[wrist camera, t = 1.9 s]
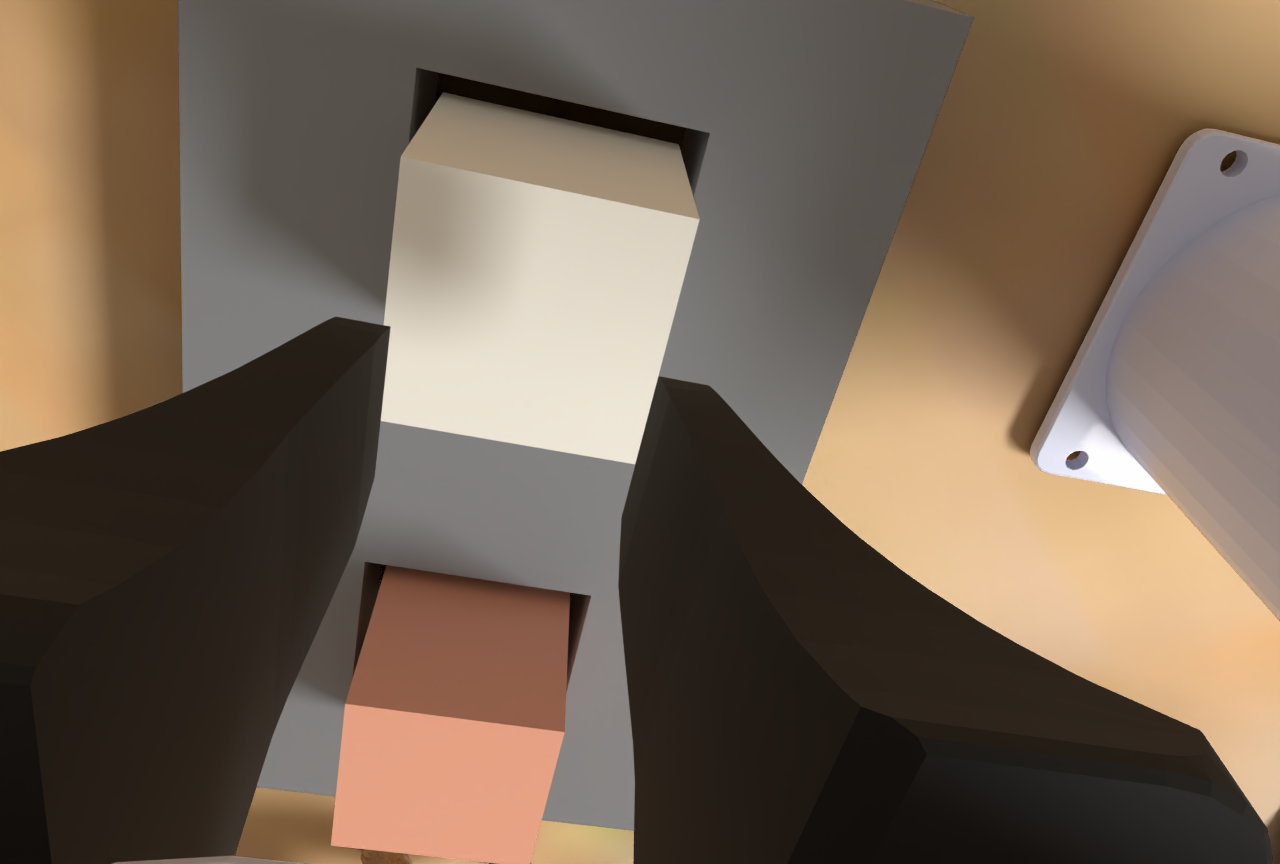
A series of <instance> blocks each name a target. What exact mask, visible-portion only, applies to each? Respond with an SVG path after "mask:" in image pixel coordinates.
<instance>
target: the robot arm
mask: <svg viewBox="0 0 1280 864" xmlns="http://www.w3.org/2000/svg"><path fill="white" fill-rule="evenodd" d="M1233 151H1236V153H1237V155H1236V159H1235V162H1234V163H1233V164H1232V165H1231V167H1230V168H1228V169H1226V170H1224V171H1221V170H1220V166H1221V162H1222V160H1223V159H1224V158H1225V157H1226V155H1227V154H1229V153H1231V152H1233ZM390 328H391V327H390V326H385V325H379V324H374V323H368V322H363V321H358V320H352V319H347V318H341V317H333V318H331V319H329V320H327V321H325V322H323V323H321V324H319V325H317V326H315V327H313V328H311V329H310V330H308V331H306V332H304V333H302V334H301V335H299V336H297V337H295V338H293V339H291V340H290V341H288V342H286V343H284V344H282V345H281V346H279V347H277V348H275V349H273V350H271V351H269V352H267V353H265V354H264V355H262V356H260V357H258V358H256V359H254V360H252V361H250V362H248V363H246V364H245V365H243V366H241V367H239V368H237V369H235V370H233V371H231V372H229V373H226V374H224V375H222V376H220V377H218V378H215V379H213V380H211V381H209V382H206V383H204V384H202V385H200V386H198V387H195V388H193V389H191V390H189V391H187V392H184V393H182V394H180V395H178V396H176V397H173V398H171V399H169V400H167V401H164V402H162V403H159V404H157V405H154V406H152V407H149V408H147V409H144V410H141V411H138V412H136V413H133V414H130V415H128V416H125V417H122V418H119V419H116V420H113V421H110V422H107V423H104V424H101V425H98V426H94V427H91V428H88V429H85V430H82V431H79V432H76V433H72V434H69V435H66V436H62V437H59V438H55V439H51V440H47V441H43V442H38V443H34V444H30V445H26V446H22V447H18V448H14V449H10V450H6V451H2V452H0V864H307V863H298V862H288V861H279V860H269V859H260V858H250V857H241V856H235V853H236V850H237V847H238V844H239V840H240V837H241V834H242V831H243V827H244V824H245V821H246V818H247V815H248V811H249V808H250V805H251V802H252V799H253V796H254V793H255V790H256V786H257V783H258V780H259V777H260V774H261V771H262V768H263V765H264V762H265V758H266V755H267V752H268V749H269V746H270V743H271V740H272V737H273V734H274V731H275V729H276V726H277V724H278V721H279V719H280V716H281V713H282V711H283V708H284V706H285V703H286V701H287V698H288V696H289V694H290V691H291V689H292V687H293V685H294V682H295V680H296V678H297V676H298V674H299V671H300V669H301V667H302V665H303V662H304V660H305V658H306V656H307V653H308V651H309V649H310V647H311V644H312V642H313V640H314V638H315V636H316V633H317V631H318V629H319V627H320V624H321V622H322V620H323V618H324V615H325V613H326V611H327V609H328V606H329V604H330V602H331V600H332V597H333V595H334V593H335V591H336V588H337V586H338V584H339V582H340V579H341V577H342V575H343V572H344V570H345V568H346V566H347V563H348V561H349V559H350V556H351V554H352V552H353V549H354V547H355V544H356V541H357V537H358V534H359V531H360V527H361V524H362V520H363V517H364V514H365V510H366V506H367V503H368V499H369V496H370V492H371V489H372V485H373V482H374V478H375V470H376V460H377V451H378V441H379V432H380V422H381V413H382V403H383V394H384V385H385V375H386V366H387V356H388V347H389V337H390ZM1075 451H1081V452H1080V454H1079V455H1078V456H1077V458H1075V459H1073V460H1070V461H1066V458H1067V457H1068V456H1069V455H1070V454H1071V453H1073V452H1075ZM1030 457H1031V460H1032V461H1033V462H1034V464H1035V465H1036V466H1037V467H1038V469H1039V470H1040V471H1042V472H1045V473H1048V474H1053V475H1059V476H1064V477H1070V478H1075V479H1081V480H1087V481H1092V482H1098V483H1103V484H1109V485H1114V486H1120V487H1125V488H1131V489H1136V490H1142V491H1147V492H1153V493H1159V494H1164V495H1168V496H1169V498H1170V499H1171V500H1172V501H1173V502H1174V503H1175V504H1176V505H1177V507H1178V508H1179V509H1180V510H1181V511H1182V512H1183V513H1184V514H1185V516H1186V517H1187V518H1188V519H1189V520H1190V521H1191V522H1192V523H1193V525H1194V526H1195V527H1196V528H1197V529H1198V530H1199V531H1200V532H1201V533H1202V535H1203V536H1204V537H1205V538H1206V539H1207V540H1208V541H1209V542H1210V544H1211V545H1212V546H1213V547H1214V548H1215V549H1216V550H1217V551H1218V553H1219V554H1220V555H1221V556H1222V557H1223V558H1224V559H1225V560H1226V561H1227V563H1228V564H1229V565H1230V566H1231V567H1232V568H1233V569H1234V570H1235V572H1236V573H1237V574H1238V575H1239V576H1240V577H1241V578H1242V579H1243V581H1244V582H1245V583H1246V584H1247V585H1248V586H1249V587H1250V588H1251V590H1252V591H1253V592H1254V593H1255V594H1256V595H1257V596H1258V597H1259V598H1260V600H1261V601H1262V602H1263V603H1264V604H1265V605H1266V606H1267V607H1268V609H1269V610H1270V611H1271V612H1272V613H1273V614H1274V615H1275V616H1276V618H1277V619H1278V620H1279V621H1280V144H1276V143H1272V142H1268V141H1263V140H1259V139H1255V138H1251V137H1247V136H1243V135H1239V134H1235V133H1231V132H1226V131H1222V130H1218V129H1206V128H1205V129H1202V130H1199V131H1197V132H1194V133H1193V134H1192V135H1191V136H1189V137H1188V138H1187V139H1186V140H1185V141H1184V142H1183V144H1182V145H1181V147H1180V148H1179V150H1178V152H1177V154H1176V156H1175V158H1174V160H1173V162H1172V164H1171V166H1170V168H1169V170H1168V172H1167V174H1166V176H1165V178H1164V180H1163V182H1162V184H1161V186H1160V188H1159V190H1158V192H1157V194H1156V196H1155V198H1154V200H1153V202H1152V204H1151V206H1150V208H1149V210H1148V212H1147V214H1146V216H1145V218H1144V220H1143V222H1142V224H1141V226H1140V228H1139V230H1138V232H1137V234H1136V236H1135V238H1134V240H1133V242H1132V244H1131V246H1130V248H1129V250H1128V252H1127V254H1126V256H1125V258H1124V260H1123V262H1122V264H1121V266H1120V268H1119V270H1118V272H1117V274H1116V276H1115V278H1114V280H1113V282H1112V284H1111V287H1110V289H1109V291H1108V293H1107V295H1106V297H1105V299H1104V301H1103V303H1102V305H1101V307H1100V309H1099V311H1098V313H1097V315H1096V317H1095V319H1094V321H1093V323H1092V325H1091V327H1090V329H1089V331H1088V333H1087V335H1086V337H1085V339H1084V341H1083V343H1082V345H1081V347H1080V349H1079V351H1078V353H1077V355H1076V357H1075V359H1074V361H1073V363H1072V365H1071V367H1070V369H1069V371H1068V373H1067V375H1066V377H1065V379H1064V381H1063V383H1062V385H1061V387H1060V389H1059V391H1058V393H1057V395H1056V397H1055V399H1054V401H1053V403H1052V405H1051V407H1050V409H1049V411H1048V413H1047V415H1046V417H1045V419H1044V421H1043V423H1042V425H1041V427H1040V429H1039V431H1038V433H1037V435H1036V437H1035V439H1034V441H1033V443H1032V445H1031V449H1030ZM618 588H619V601H620V612H621V623H622V634H623V645H624V655H625V666H626V676H627V686H628V697H629V707H630V717H631V728H632V738H633V753H634V774H635V804H634V864H1271V863H1272V859H1273V857H1272V852H1271V846H1270V841H1269V836H1268V831H1267V827H1266V826H1265V824H1264V823H1263V822H1262V820H1261V819H1260V817H1259V816H1258V814H1257V813H1256V811H1255V810H1254V808H1253V807H1252V805H1251V804H1250V802H1249V801H1248V799H1247V798H1246V796H1245V795H1244V793H1243V792H1242V791H1241V789H1240V788H1239V786H1238V785H1237V783H1236V782H1235V780H1234V779H1233V777H1232V776H1231V774H1230V773H1229V771H1228V770H1227V768H1226V767H1225V765H1224V764H1223V762H1222V761H1221V760H1220V758H1219V757H1218V755H1217V754H1216V752H1215V751H1214V749H1213V748H1212V746H1211V745H1210V743H1209V742H1208V740H1207V739H1206V737H1205V736H1204V734H1203V733H1202V732H1201V731H1200V730H1198V729H1196V728H1194V727H1191V726H1189V725H1187V724H1185V723H1182V722H1180V721H1178V720H1175V719H1173V718H1171V717H1169V716H1166V715H1164V714H1162V713H1160V712H1157V711H1155V710H1153V709H1151V708H1148V707H1146V706H1144V705H1142V704H1139V703H1137V702H1135V701H1133V700H1130V699H1128V698H1126V697H1124V696H1121V695H1119V694H1117V693H1115V692H1112V691H1110V690H1108V689H1106V688H1103V687H1101V686H1099V685H1097V684H1094V683H1092V682H1090V681H1088V680H1086V679H1084V678H1082V677H1080V676H1078V675H1076V674H1074V673H1072V672H1070V671H1068V670H1066V669H1064V668H1062V667H1060V666H1058V665H1057V664H1055V663H1053V662H1051V661H1049V660H1047V659H1045V658H1043V657H1041V656H1039V655H1038V654H1036V653H1034V652H1032V651H1030V650H1028V649H1026V648H1024V647H1022V646H1020V645H1019V644H1017V643H1015V642H1013V641H1012V640H1010V639H1008V638H1006V637H1005V636H1003V635H1001V634H999V633H998V632H996V631H994V630H992V629H991V628H989V627H987V626H986V625H984V624H982V623H980V622H979V621H977V620H976V619H974V618H972V617H971V616H969V615H968V614H966V613H965V612H963V611H962V610H960V609H958V608H957V607H955V606H954V605H952V604H951V603H949V602H947V601H946V600H944V599H943V598H941V597H940V596H938V595H937V594H935V593H933V592H932V591H930V590H929V589H927V588H926V587H925V586H923V585H922V584H920V583H919V582H917V581H916V580H915V579H913V578H912V577H910V576H909V575H907V574H906V573H905V572H903V571H902V570H901V569H899V568H898V567H897V566H895V565H894V564H893V563H892V562H890V561H889V560H888V559H886V558H885V557H884V556H883V555H881V554H880V553H879V552H877V551H876V550H875V549H874V548H872V547H871V546H870V545H868V544H867V543H866V542H865V541H863V540H862V539H861V538H859V537H858V536H857V535H856V534H855V533H854V532H852V531H851V530H850V529H849V528H848V527H847V526H845V525H844V524H843V523H842V522H841V521H840V520H839V519H837V518H836V517H835V516H834V515H833V514H832V513H831V512H830V511H829V510H828V509H827V508H826V507H825V506H824V505H823V504H821V503H820V502H819V501H818V500H817V499H816V498H815V497H814V496H813V495H812V494H811V493H810V492H809V491H808V490H807V489H806V488H805V487H804V486H803V485H802V484H801V483H800V482H799V481H798V480H797V479H796V478H795V477H794V476H793V475H792V474H791V473H790V472H789V471H788V470H787V469H786V468H785V467H784V466H783V465H782V464H781V463H780V462H779V461H778V460H777V458H776V457H775V456H774V455H773V454H772V453H771V452H770V451H769V450H768V449H767V448H766V447H765V445H764V444H763V443H762V442H761V441H760V440H759V439H758V438H757V437H756V435H755V434H754V433H753V432H752V431H751V430H750V429H749V428H748V426H747V425H746V424H745V423H744V422H743V421H742V420H741V419H740V417H739V416H738V415H737V414H736V413H735V412H734V411H733V409H732V408H731V407H730V406H729V405H728V404H727V403H726V402H725V401H724V400H723V398H722V397H721V396H720V395H719V394H718V393H717V392H716V391H715V390H714V389H713V388H711V387H710V386H709V385H704V384H699V383H693V382H688V381H682V380H677V379H672V378H666V377H661V376H658V380H657V384H656V388H655V392H654V395H653V399H652V403H651V407H650V411H649V414H648V418H647V422H646V426H645V430H644V433H643V437H642V441H641V445H640V449H639V453H638V456H637V460H636V464H635V468H634V472H633V475H632V479H631V483H630V487H629V491H628V494H627V498H626V502H625V506H624V510H623V513H622V517H621V536H620V555H619V581H618Z"/></svg>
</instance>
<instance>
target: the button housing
mask: <svg viewBox="0 0 1280 864" xmlns="http://www.w3.org/2000/svg"><path fill="white" fill-rule="evenodd" d="M972 21H973V17H971V16H969V15H966V14H964V13H962V12H959V11H957V10H954V9H952V8H950V7H947V6H945V5H943V4H940V3H938V2H936V1H933V0H178V36H179V122H180V209H181V296H182V383H183V393H184V392H187V391H189V390H191V389H193V388H195V387H198V386H200V385H202V384H204V383H206V382H209V381H211V380H213V379H215V378H218V377H220V376H222V375H224V374H226V373H229V372H231V371H233V370H235V369H237V368H239V367H241V366H243V365H245V364H246V363H248V362H250V361H252V360H254V359H256V358H258V357H260V356H262V355H264V354H265V353H267V352H269V351H271V350H273V349H275V348H277V347H279V346H281V345H282V344H284V343H286V342H288V341H290V340H291V339H293V338H295V337H297V336H299V335H301V334H302V333H304V332H306V331H308V330H310V329H311V328H313V327H315V326H317V325H319V324H321V323H323V322H325V321H327V320H329V319H331V318H333V317H341V318H347V319H352V320H358V321H363V322H368V323H374V324H379V325H384V316H385V306H386V296H387V286H388V276H389V266H390V257H391V247H392V237H393V227H394V217H395V207H396V197H397V188H398V178H399V168H400V158H401V155H402V154H403V152H404V151H405V149H406V148H407V146H408V145H409V143H410V142H411V140H412V139H413V137H414V136H415V134H416V133H417V131H418V130H419V128H420V127H421V125H422V124H423V122H424V121H425V119H426V118H427V116H428V115H429V113H430V111H431V110H432V108H433V107H434V105H435V99H436V90H437V82H438V73H443V74H447V75H452V76H456V77H461V78H465V79H470V80H474V81H479V82H483V83H488V84H492V85H497V86H501V87H506V88H510V89H515V90H519V91H524V92H528V93H533V94H537V95H542V96H546V97H550V98H555V99H559V100H564V101H568V102H573V103H577V104H582V105H586V106H591V107H595V108H600V109H604V110H609V111H613V112H618V113H622V114H627V115H631V116H636V117H640V118H645V119H649V120H654V121H658V122H663V123H667V124H671V125H676V126H680V127H685V128H686V132H685V136H684V140H683V144H682V149H681V155H682V158H683V162H684V165H685V169H686V172H687V176H688V180H689V183H690V187H691V190H692V194H693V197H694V201H695V205H696V208H697V212H698V215H699V219H700V220H699V224H698V227H697V231H696V235H695V239H694V243H693V246H692V250H691V254H690V258H689V262H688V265H687V269H686V273H685V277H684V281H683V284H682V288H681V292H680V296H679V300H678V303H677V307H676V311H675V315H674V319H673V322H672V326H671V330H670V334H669V338H668V341H667V345H666V349H665V353H664V357H663V360H662V364H661V368H660V372H659V376H661V377H666V378H672V379H677V380H682V381H688V382H693V383H699V384H704V385H709V386H710V387H711V388H713V389H714V390H715V391H716V392H717V393H718V394H719V395H720V396H721V397H722V398H723V400H724V401H725V402H726V403H727V404H728V405H729V406H730V407H731V408H732V409H733V411H734V412H735V413H736V414H737V415H738V416H739V417H740V419H741V420H742V421H743V422H744V423H745V424H746V425H747V426H748V428H749V429H750V430H751V431H752V432H753V433H754V434H755V435H756V437H757V438H758V439H759V440H760V441H761V442H762V443H763V444H764V445H765V447H766V448H767V449H768V450H769V451H770V452H771V453H772V454H773V455H774V456H775V457H776V458H777V460H778V461H779V462H780V463H781V464H782V465H783V466H784V467H785V468H786V469H787V470H788V471H789V472H790V473H791V474H792V475H793V476H794V477H795V478H796V479H797V480H798V481H799V482H800V483H801V484H802V482H803V480H804V477H805V474H806V472H807V469H808V466H809V463H810V461H811V458H812V455H813V453H814V450H815V447H816V444H817V442H818V439H819V436H820V434H821V431H822V428H823V425H824V423H825V420H826V417H827V415H828V412H829V409H830V406H831V404H832V401H833V398H834V396H835V393H836V390H837V387H838V385H839V382H840V379H841V377H842V374H843V371H844V368H845V366H846V363H847V360H848V358H849V355H850V352H851V349H852V347H853V344H854V341H855V339H856V336H857V333H858V330H859V328H860V325H861V322H862V320H863V317H864V314H865V311H866V309H867V306H868V303H869V301H870V298H871V295H872V292H873V290H874V287H875V284H876V282H877V279H878V276H879V273H880V271H881V268H882V265H883V263H884V260H885V257H886V254H887V252H888V249H889V246H890V244H891V241H892V238H893V235H894V233H895V230H896V227H897V225H898V222H899V219H900V216H901V214H902V211H903V208H904V206H905V203H906V200H907V197H908V195H909V192H910V189H911V187H912V184H913V181H914V179H915V176H916V173H917V170H918V168H919V165H920V162H921V160H922V157H923V154H924V151H925V149H926V146H927V143H928V141H929V138H930V135H931V132H932V130H933V127H934V124H935V122H936V119H937V116H938V113H939V111H940V108H941V105H942V103H943V100H944V97H945V94H946V92H947V89H948V86H949V84H950V81H951V78H952V75H953V73H954V70H955V67H956V65H957V62H958V59H959V56H960V54H961V51H962V48H963V46H964V43H965V40H966V37H967V35H968V32H969V29H970V27H971V24H972ZM657 380H658V379H657ZM656 384H657V383H656ZM655 388H656V387H655ZM654 392H655V391H654ZM651 403H652V402H651ZM650 407H651V406H650ZM649 411H650V410H649ZM646 422H647V421H646ZM645 426H646V425H645ZM644 430H645V429H644ZM641 441H642V440H641ZM640 445H641V444H640ZM639 449H640V448H639ZM638 453H639V452H638ZM636 460H637V459H636ZM635 464H636V463H635ZM635 464H630V463H624V462H618V461H613V460H607V459H601V458H595V457H589V456H583V455H577V454H572V453H566V452H560V451H554V450H548V449H542V448H536V447H531V446H525V445H519V444H513V443H507V442H501V441H495V440H490V439H484V438H478V437H472V436H466V435H460V434H454V433H449V432H443V431H437V430H431V429H425V428H419V427H413V426H408V425H402V424H396V423H390V422H384V421H381V422H380V432H379V441H378V451H377V460H376V470H375V478H374V482H373V485H372V489H371V492H370V496H369V499H368V503H367V506H366V510H365V514H364V517H363V520H362V524H361V527H360V531H359V534H358V537H357V541H356V544H355V547H354V549H353V552H352V554H351V556H350V559H349V561H348V563H347V566H346V568H345V570H344V572H343V575H342V577H341V579H340V582H339V584H338V586H337V588H336V591H335V593H334V595H333V597H332V600H331V602H330V604H329V606H328V609H327V611H326V613H325V615H324V618H323V620H322V622H321V624H320V627H319V629H318V631H317V633H316V636H315V638H314V640H313V642H312V644H311V647H310V649H309V651H308V653H307V656H306V658H305V660H304V662H303V665H302V667H301V669H300V671H299V674H298V676H297V678H296V680H295V682H294V685H293V687H292V689H291V691H290V694H289V696H288V698H287V701H286V703H285V706H284V708H283V711H282V713H281V716H280V719H279V721H278V724H277V726H276V729H275V731H274V734H273V737H272V740H271V743H270V746H269V749H268V752H267V755H266V758H265V762H264V765H263V768H262V771H261V774H260V777H259V780H258V783H257V786H256V787H259V788H268V789H277V790H285V791H294V792H303V793H311V794H320V795H329V796H336V789H337V779H338V769H339V759H340V749H341V740H342V730H343V720H344V710H345V703H346V699H347V696H348V693H349V689H350V686H351V683H352V679H353V676H354V673H355V669H356V666H357V663H358V659H359V656H360V653H361V649H362V646H363V642H364V639H365V636H366V632H367V629H368V626H369V622H370V619H371V616H372V612H373V609H374V606H375V602H376V599H377V596H378V591H379V582H380V574H381V565H382V564H383V565H390V566H397V567H403V568H410V569H417V570H423V571H430V572H437V573H443V574H450V575H457V576H463V577H470V578H477V579H483V580H490V581H497V582H503V583H510V584H517V585H523V586H530V587H537V588H543V589H550V590H557V591H563V592H570V593H573V595H572V599H571V603H570V609H569V635H568V661H567V687H566V713H565V733H564V737H563V741H562V745H561V748H560V752H559V756H558V760H557V764H556V767H555V771H554V775H553V779H552V783H551V786H550V790H549V794H548V798H547V802H546V806H545V809H544V813H543V817H542V820H545V821H554V822H562V823H571V824H579V825H588V826H597V827H605V828H614V829H623V830H631V831H634V804H635V774H634V753H633V738H632V728H631V717H630V707H629V697H628V686H627V676H626V666H625V655H624V645H623V634H622V623H621V612H620V601H619V588H618V581H619V555H620V536H621V517H622V513H623V510H624V506H625V502H626V498H627V494H628V491H629V487H630V483H631V479H632V475H633V472H634V468H635Z"/></svg>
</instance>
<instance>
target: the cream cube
mask: <svg viewBox="0 0 1280 864" xmlns="http://www.w3.org/2000/svg"><path fill="white" fill-rule="evenodd" d="M699 220H700V219H699V215H698V212H697V208H696V205H695V201H694V197H693V194H692V190H691V187H690V183H689V180H688V176H687V172H686V169H685V165H684V162H683V158H682V155H681V151H680V147H679V144H675V143H671V142H666V141H662V140H657V139H653V138H648V137H643V136H639V135H634V134H630V133H625V132H621V131H616V130H612V129H607V128H603V127H598V126H594V125H589V124H584V123H580V122H575V121H571V120H566V119H562V118H557V117H553V116H548V115H544V114H539V113H535V112H530V111H525V110H521V109H516V108H512V107H507V106H503V105H498V104H494V103H489V102H485V101H480V100H476V99H471V98H467V97H462V96H457V95H453V94H448V93H444V92H443V93H442V95H441V96H440V98H439V99H438V101H437V102H436V104H435V105H434V107H433V108H432V110H431V111H430V113H429V115H428V116H427V118H426V119H425V121H424V122H423V124H422V125H421V127H420V128H419V130H418V131H417V133H416V134H415V136H414V137H413V139H412V140H411V142H410V143H409V145H408V146H407V148H406V149H405V151H404V152H403V154H402V155H401V158H400V168H399V178H398V188H397V197H396V207H395V217H394V227H393V237H392V247H391V257H390V266H389V276H388V286H387V296H386V306H385V316H384V325H385V326H390V327H391V328H390V337H389V347H388V356H387V366H386V375H385V385H384V394H383V403H382V413H381V421H384V422H390V423H396V424H402V425H408V426H413V427H419V428H425V429H431V430H437V431H443V432H449V433H454V434H460V435H466V436H472V437H478V438H484V439H490V440H495V441H501V442H507V443H513V444H519V445H525V446H531V447H536V448H542V449H548V450H554V451H560V452H566V453H572V454H577V455H583V456H589V457H595V458H601V459H607V460H613V461H618V462H624V463H630V464H635V463H636V459H637V456H638V452H639V448H640V444H641V440H642V437H643V433H644V429H645V425H646V421H647V418H648V414H649V410H650V406H651V402H652V399H653V395H654V391H655V387H656V383H657V379H658V376H659V372H660V368H661V364H662V360H663V357H664V353H665V349H666V345H667V341H668V338H669V334H670V330H671V326H672V322H673V319H674V315H675V311H676V307H677V303H678V300H679V296H680V292H681V288H682V284H683V281H684V277H685V273H686V269H687V265H688V262H689V258H690V254H691V250H692V246H693V243H694V239H695V235H696V231H697V227H698V224H699Z"/></svg>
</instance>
